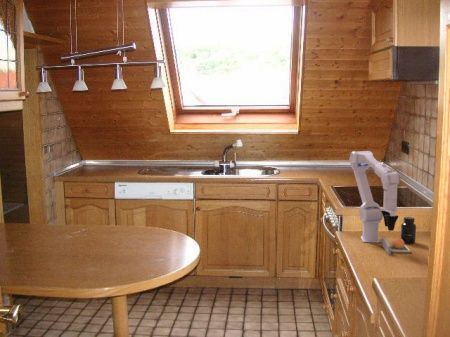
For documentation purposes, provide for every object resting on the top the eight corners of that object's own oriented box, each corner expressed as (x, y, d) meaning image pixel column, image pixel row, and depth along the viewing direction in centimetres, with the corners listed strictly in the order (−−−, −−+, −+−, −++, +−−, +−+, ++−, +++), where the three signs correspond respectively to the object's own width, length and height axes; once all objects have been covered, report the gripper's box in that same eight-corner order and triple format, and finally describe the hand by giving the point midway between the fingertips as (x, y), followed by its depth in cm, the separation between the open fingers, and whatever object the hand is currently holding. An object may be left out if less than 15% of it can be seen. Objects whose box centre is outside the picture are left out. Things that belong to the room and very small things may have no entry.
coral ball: (391, 247, 238) (391, 236, 237) (402, 247, 237) (402, 236, 237) (394, 250, 233) (394, 239, 232) (405, 250, 232) (406, 239, 232)
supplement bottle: (405, 245, 243) (406, 219, 241) (397, 241, 249) (398, 216, 248) (418, 243, 245) (419, 218, 243) (409, 240, 251) (410, 215, 250)
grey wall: (381, 244, 244) (381, 236, 243) (383, 244, 244) (384, 236, 243) (388, 254, 228) (388, 245, 227) (390, 254, 228) (390, 245, 227)
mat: (385, 246, 241) (385, 244, 241) (405, 246, 240) (406, 244, 240) (390, 253, 230) (390, 250, 230) (411, 253, 229) (411, 251, 229)
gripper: (378, 195, 242) (377, 224, 244) (384, 201, 228) (382, 232, 230) (393, 196, 241) (392, 224, 243) (400, 202, 227) (399, 232, 229)
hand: (389, 228), depth 236 cm, fingers open, 7 cm apart
